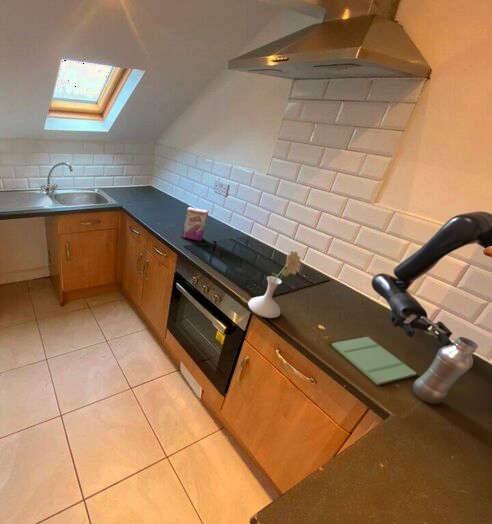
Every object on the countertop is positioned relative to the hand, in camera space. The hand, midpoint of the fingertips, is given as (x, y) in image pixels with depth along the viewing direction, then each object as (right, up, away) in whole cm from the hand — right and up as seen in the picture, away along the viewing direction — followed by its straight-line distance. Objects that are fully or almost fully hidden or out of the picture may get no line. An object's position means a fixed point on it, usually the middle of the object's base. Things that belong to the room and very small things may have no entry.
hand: (429, 339), depth 86 cm
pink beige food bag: (-55, +35, +80) cm, 104 cm away
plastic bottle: (-5, -15, -3) cm, 16 cm away
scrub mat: (-11, -8, +8) cm, 16 cm away
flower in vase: (-37, +4, +25) cm, 45 cm away
